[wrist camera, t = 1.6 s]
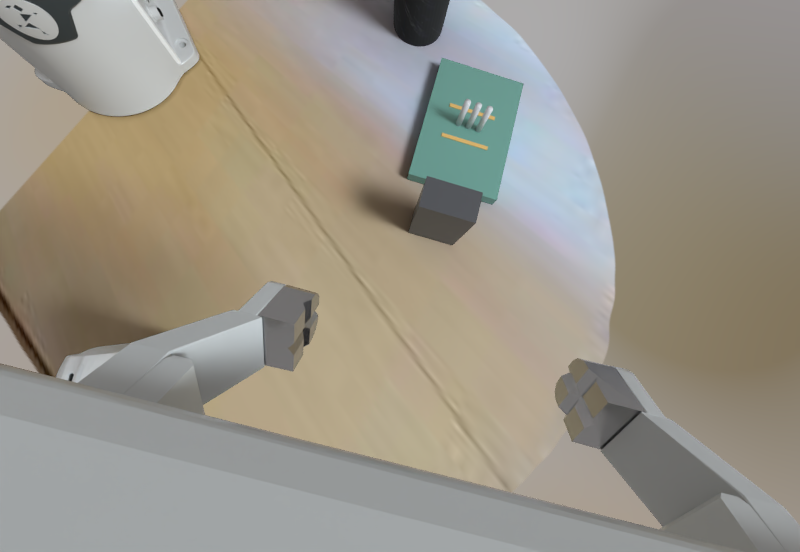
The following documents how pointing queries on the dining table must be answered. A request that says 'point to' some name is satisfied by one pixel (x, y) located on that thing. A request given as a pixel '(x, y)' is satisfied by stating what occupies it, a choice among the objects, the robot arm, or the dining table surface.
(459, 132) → the teal plate
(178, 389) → the robot arm
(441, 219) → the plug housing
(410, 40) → the travel mug
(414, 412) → the dining table surface
